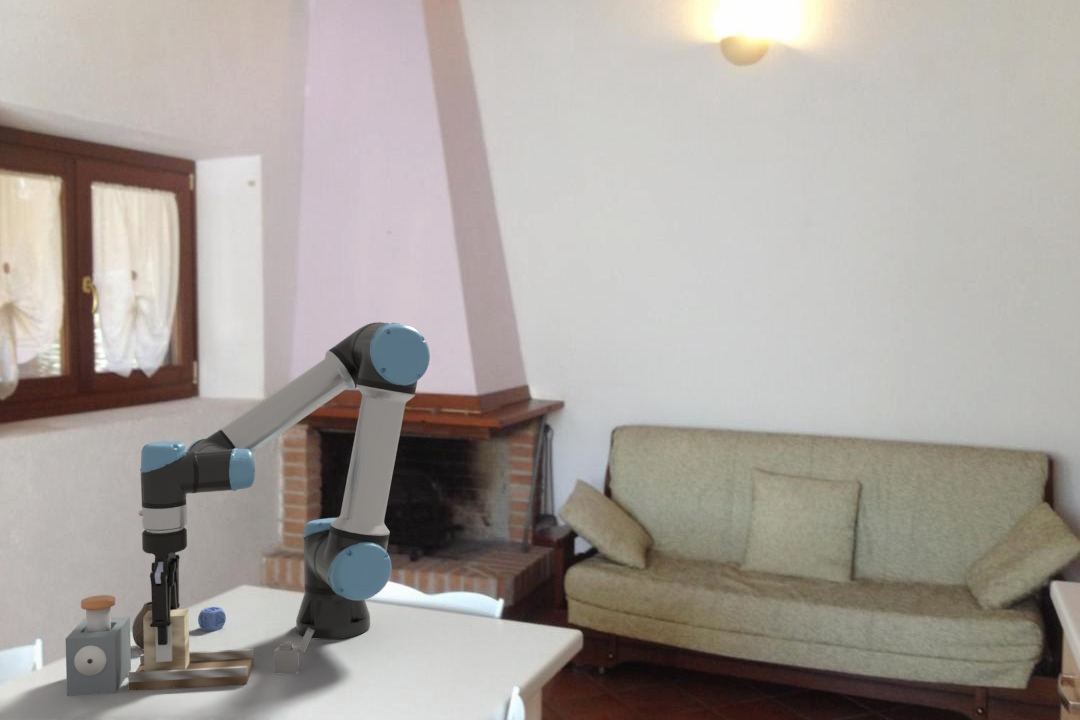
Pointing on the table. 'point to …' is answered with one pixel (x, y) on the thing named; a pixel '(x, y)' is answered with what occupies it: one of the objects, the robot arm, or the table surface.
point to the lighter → (290, 655)
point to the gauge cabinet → (98, 658)
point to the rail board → (197, 671)
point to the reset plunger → (98, 612)
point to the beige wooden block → (179, 642)
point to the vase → (140, 625)
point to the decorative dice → (211, 619)
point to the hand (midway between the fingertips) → (166, 656)
